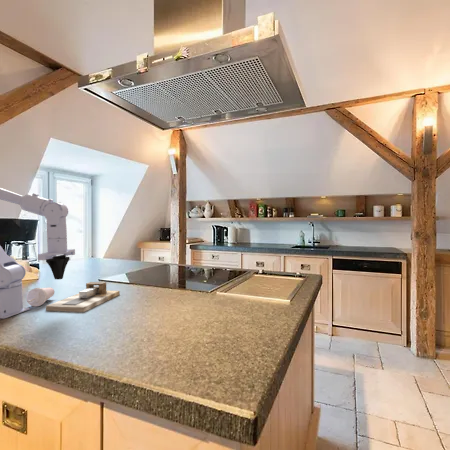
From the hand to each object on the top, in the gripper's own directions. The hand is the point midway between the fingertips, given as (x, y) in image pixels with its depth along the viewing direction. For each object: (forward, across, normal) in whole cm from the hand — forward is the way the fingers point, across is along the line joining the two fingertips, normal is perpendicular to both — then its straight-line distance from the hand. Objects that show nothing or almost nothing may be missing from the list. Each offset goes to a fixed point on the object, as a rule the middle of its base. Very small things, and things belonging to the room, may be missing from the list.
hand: (58, 279), depth 98 cm
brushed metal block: (+9, +13, -3) cm, 16 cm away
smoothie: (+8, +12, +14) cm, 20 cm away
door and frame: (+10, +10, -3) cm, 15 cm away
